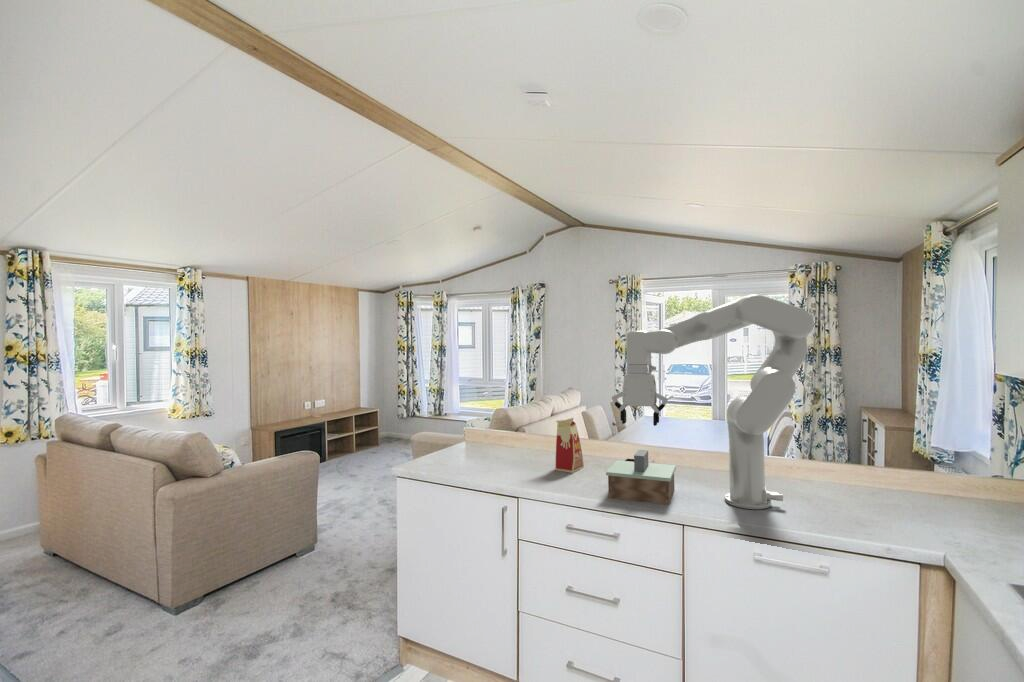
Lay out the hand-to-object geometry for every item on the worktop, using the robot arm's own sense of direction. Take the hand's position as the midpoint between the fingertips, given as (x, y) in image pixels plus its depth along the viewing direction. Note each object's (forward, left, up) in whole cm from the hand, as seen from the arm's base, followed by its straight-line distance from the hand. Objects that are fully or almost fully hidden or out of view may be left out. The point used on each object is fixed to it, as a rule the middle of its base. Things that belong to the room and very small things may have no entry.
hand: (639, 424), depth 151 cm
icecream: (+7, -20, -23) cm, 32 cm away
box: (0, 0, -23) cm, 23 cm away
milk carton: (+32, -23, -23) cm, 46 cm away
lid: (0, 0, -16) cm, 16 cm away
